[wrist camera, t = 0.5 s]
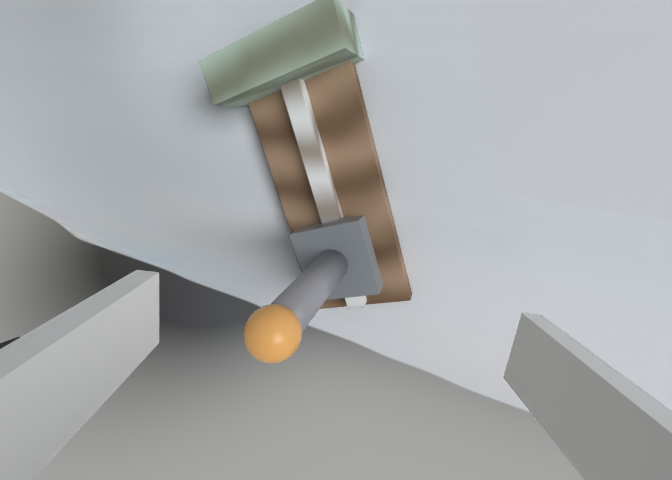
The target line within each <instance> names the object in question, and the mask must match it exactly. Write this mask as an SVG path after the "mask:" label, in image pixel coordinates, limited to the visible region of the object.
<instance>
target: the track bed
mask: <svg viewBox="0 0 672 480" xmlns="http://www.w3.org/2000/svg"><path fill="white" fill-rule="evenodd" d="M362 60H364V57H363V52H362V48H361V44H360V40H359V36H358V32H357V28H356V23H355V19H354V15H353V13H351V12H350V11H349V10H348V9H347V8H346V7H345V6H344V5H343V4H342V3H341V2H340V1H339V0H316V1H314V2H312V3H310V4H308V5H306V6H304V7H302V8H301V9H299V10H297V11H295V12H293V13H291V14H289V15H287V16H285V17H283V18H281V19H279V20H277V21H275V22H274V23H272V24H270V25H268V26H266V27H264V28H262V29H260V30H258V31H256V32H254V33H252V34H250V35H249V36H247V37H245V38H243V39H241V40H239V41H237V42H235V43H233V44H231V45H229V46H227V47H225V48H224V49H222V50H220V51H218V52H216V53H214V54H212V55H210V56H208V57H206V58H204V59H202V60H200V61H199V64H200V67H201V70H202V73H203V76H204V78H205V81H206V84H207V87H208V90H209V92H210V95H211V98H212V101H213V104H214V105H223V106H241V107H250V110H251V113H252V116H253V119H254V122H255V125H256V128H257V131H258V134H259V137H260V140H261V143H262V146H263V149H264V152H265V155H266V158H267V161H268V164H269V167H270V171H271V174H272V177H273V180H274V183H275V186H276V189H277V192H278V195H279V198H280V201H281V204H282V207H283V210H284V213H285V216H286V219H287V222H288V225H289V228H290V231H291V233H292V232H294V231H295V230H296V229H300V228H304V227H309V226H313V225H314V224H315V223H319V222H322V224H324V223H328V222H333V221H338V220H341V219H342V218H343V217H348V216H350V218H352V217H357V216H362V215H364V216H365V219H366V223H367V227H368V230H369V234H370V238H371V241H372V245H373V249H374V253H375V256H376V260H377V264H378V267H379V271H380V275H381V278H382V282H383V287H382V290H381V292H380V294H377V295H368V296H358V297H349V298H339V299H330V300H325V302H324V303H323V305H322V306H321V307H320V309H323V308H334V307H344V306H347V307H348V308H358V307H364V306H365V305H366V304H376V303H387V302H398V301H409V300H410V299H411V296H412V292H411V288H410V284H409V280H408V276H407V272H406V268H405V264H404V260H403V256H402V252H401V248H400V244H399V240H398V236H397V232H396V228H395V224H394V220H393V216H392V212H391V208H390V204H389V200H388V196H387V192H386V188H385V184H384V180H383V176H382V172H381V167H380V163H379V159H378V155H377V151H376V147H375V143H374V139H373V135H372V131H371V127H370V123H369V119H368V115H367V111H366V107H365V103H364V99H363V95H362V91H361V87H360V83H359V79H358V75H357V71H356V67H355V63H357V62H360V61H362Z"/></svg>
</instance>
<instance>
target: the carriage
mask: <svg viewBox="0 0 672 480" xmlns="http://www.w3.org/2000/svg"><path fill="white" fill-rule="evenodd" d="M289 236H290V239H291V242H292V245H293V248H294V251H295V254H296V257H297V260H298V263H299V266H300V269H301V272H302V274H301V275H300V276H299V277H298V278H297V279H296V280H294V281H293V282H292V283H291V284H290V285H289V286H288V287H287V288H286V289H285V290H284V291H283V292H282V293H281V294H280V295H279V296H278V297H277V298H276V299H275V300H274V301H273V302H272V303H271V304H270V305H266V306H263V307H261V308H259V309H258V310H256V311H255V312H254V313H253V314H252V315H251V316H250V318H249V319H248V321H247V323H246V326H245V330H244V341H245V345H246V347H247V349H248V351H249V352H250V354H251V355H252V356H253V357H255V358H256V359H257V360H259V361H261V362H264V363H278V362H281V361H284V360H286V359H287V358H289V357H290V356H291V355H292V354H293V353H294V352H295V351H296V349H297V348H298V346H299V343H300V341H301V336H302V332H303V330H304V329H305V327H306V326H307V325H308V324H309V322H310V321H311V319H312V318H313V317H314V315H315V314H316V313H317V311H318V310H319V309H320V307H321V306H322V305H323V303H324V302H325V300H330V299H339V298H349V297H358V296H368V295H377V294H380V292H381V290H382V287H383V282H382V278H381V275H380V271H379V267H378V264H377V260H376V256H375V253H374V249H373V245H372V241H371V238H370V234H369V230H368V227H367V223H366V219H365V216H364V215H362V216H357V217H352V218H350V216H348V217H343V218H342V219H341V220H338V221H333V222H328V223H324V224H322V222H319V223H315V224H314V225H313V226H309V227H304V228H300V229H296V230H295V231H294V232H292V233H291V234H289Z"/></svg>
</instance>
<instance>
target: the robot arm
mask: <svg viewBox="0 0 672 480" xmlns="http://www.w3.org/2000/svg"><path fill="white" fill-rule="evenodd" d="M158 343H159V273H158V272H150V271H142V270H136V271H134V272H132V273H130V274H129V275H127V276H125V277H124V278H122V279H120V280H118V281H117V282H115V283H114V284H111V285H110V286H108V287H106V288H105V289H103V290H101V291H100V292H98V293H96V294H94V295H93V296H91V297H89V298H87V299H86V300H84V301H82V302H81V303H79V304H77V305H76V306H74V307H72V308H70V309H68V310H67V311H65V312H63V313H62V314H60V315H58V316H56V317H55V318H53V319H51V320H50V321H48V322H46V323H44V324H43V325H41V326H39V327H38V328H36V329H34V330H32V331H31V332H29V333H27V334H26V335H24V336H22V337H17V338H14V339H11V340H9V341H6V342H3V343H0V480H33V479H34V478H35V477H36V476H37V475H38V474H39V473H40V472H41V470H42V469H43V468H44V467H45V466H46V465H47V464H48V463H49V462H50V461H51V460H52V458H53V457H54V456H55V455H56V454H57V453H58V452H59V451H60V450H61V449H62V448H63V447H64V445H65V444H66V443H67V442H68V441H69V440H70V439H71V438H72V437H73V436H74V435H75V434H76V432H77V431H78V430H79V429H80V428H81V427H82V426H83V425H84V424H85V423H86V422H87V420H88V419H89V418H90V417H91V416H92V415H93V414H94V413H95V412H96V411H97V410H98V408H99V407H100V406H101V405H102V404H103V403H104V402H105V401H106V400H107V399H108V398H109V397H110V396H111V394H112V393H113V392H114V391H115V390H116V389H117V388H118V387H119V386H120V385H121V383H122V382H123V381H124V380H125V379H126V378H127V377H128V376H129V375H130V374H131V373H132V372H133V371H134V369H135V368H136V367H137V366H138V365H139V364H140V363H141V362H142V361H143V360H144V359H145V357H146V356H147V355H148V354H149V353H150V352H151V351H152V350H153V349H154V348H155V347H156V345H157V344H158ZM503 378H504V379H505V380H506V382H507V383H508V384H509V385H510V387H511V388H512V389H513V390H514V392H515V393H516V394H517V395H518V397H519V398H520V399H521V400H522V402H523V403H524V404H525V405H526V407H527V408H528V409H529V411H530V412H531V413H532V414H533V416H534V417H535V418H536V419H537V421H538V422H539V423H540V424H541V426H542V427H543V428H544V429H545V431H546V432H547V433H548V434H549V436H550V437H551V438H552V440H553V441H554V442H555V443H556V445H558V447H559V448H560V449H561V451H562V452H563V453H564V455H565V456H566V457H567V458H568V460H569V461H570V462H571V463H572V465H573V466H574V467H575V468H576V470H577V471H578V472H579V473H580V475H581V476H582V477H583V478H584V480H672V411H671V410H670V409H668V408H667V407H665V406H664V405H663V404H661V403H660V402H659V401H657V400H656V399H655V398H653V397H652V396H651V395H649V394H648V393H647V392H645V391H644V390H642V389H641V388H640V387H638V386H637V385H636V384H634V383H633V382H632V381H630V380H629V379H628V378H626V377H625V376H624V375H622V374H621V373H619V372H618V371H617V370H615V369H614V368H613V367H611V366H610V365H609V364H607V363H606V362H605V361H603V360H602V359H601V358H599V357H598V356H596V355H595V354H594V353H592V352H591V351H590V350H588V349H587V348H586V347H584V346H583V345H582V344H580V343H579V342H578V341H576V340H575V339H573V338H572V337H571V336H569V335H568V334H567V333H565V332H564V331H563V330H561V329H560V328H559V327H557V326H556V325H555V324H553V323H552V322H550V321H549V320H548V319H546V318H545V317H544V316H542V315H536V314H527V313H522V314H521V318H520V321H519V325H518V328H517V332H516V335H515V339H514V342H513V346H512V349H511V353H510V356H509V360H508V363H507V367H506V370H505V374H504V377H503Z"/></svg>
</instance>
